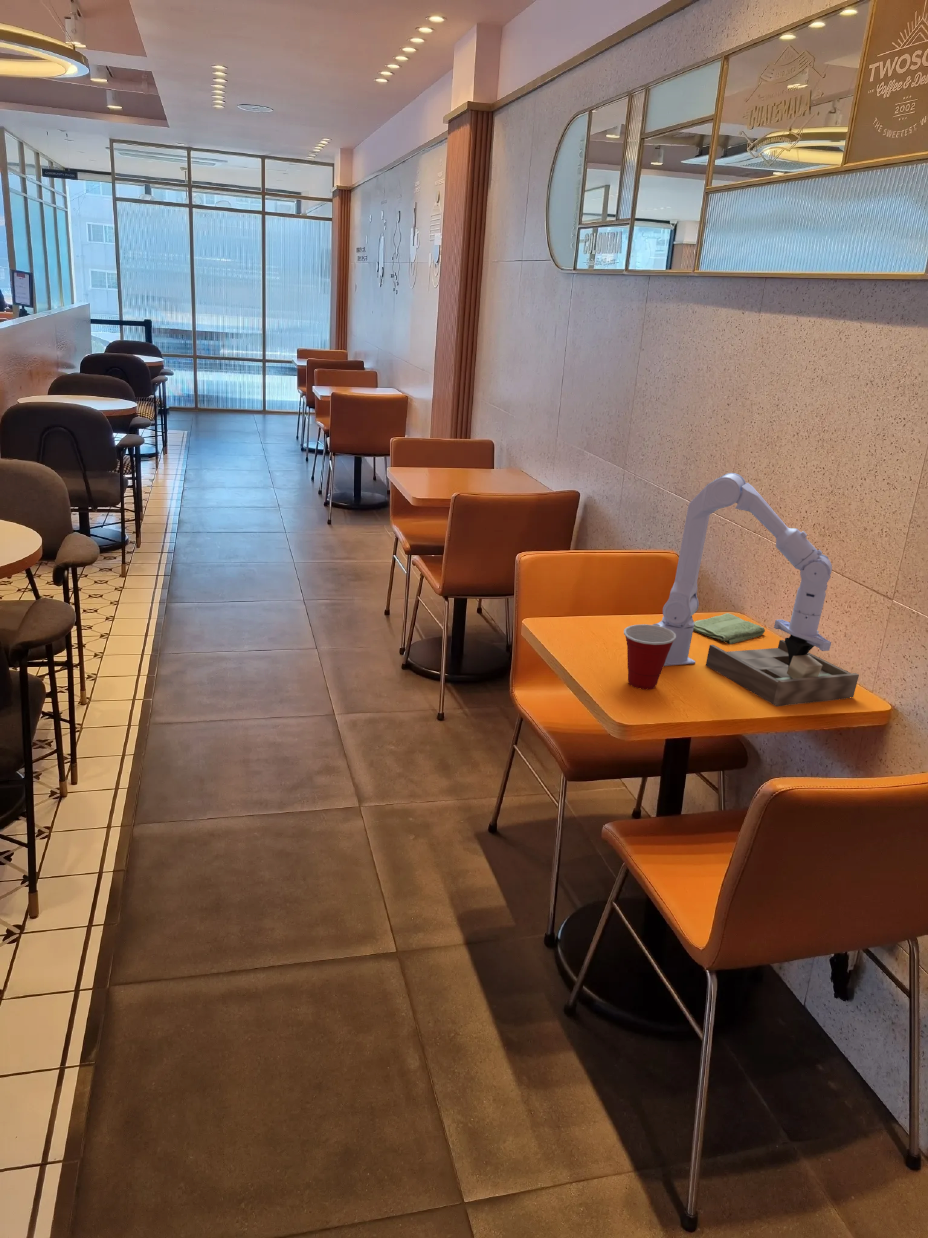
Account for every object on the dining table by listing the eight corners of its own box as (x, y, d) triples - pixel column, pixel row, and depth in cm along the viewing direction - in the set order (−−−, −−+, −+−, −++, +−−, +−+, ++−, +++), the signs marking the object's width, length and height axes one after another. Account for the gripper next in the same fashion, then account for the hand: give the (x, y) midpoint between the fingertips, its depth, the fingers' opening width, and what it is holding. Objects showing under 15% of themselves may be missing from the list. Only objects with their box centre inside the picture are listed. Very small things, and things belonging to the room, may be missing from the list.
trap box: (776, 706, 187) (782, 682, 185) (705, 665, 206) (710, 642, 204) (853, 698, 196) (859, 674, 194) (778, 659, 215) (783, 637, 214)
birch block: (800, 684, 192) (806, 666, 190) (786, 673, 196) (793, 655, 194) (815, 682, 194) (822, 665, 192) (802, 672, 198) (808, 654, 196)
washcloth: (684, 630, 231) (686, 618, 230) (726, 622, 242) (728, 610, 241) (726, 647, 222) (729, 635, 221) (767, 637, 232) (770, 626, 231)
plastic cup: (605, 676, 193) (614, 623, 189) (648, 673, 197) (657, 622, 194) (632, 696, 184) (642, 641, 180) (676, 693, 188) (686, 639, 184)
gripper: (846, 621, 188) (832, 681, 192) (796, 600, 200) (783, 656, 205) (822, 623, 185) (807, 684, 189) (772, 601, 197) (759, 658, 202)
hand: (793, 670), depth 197 cm, fingers closed, pressing on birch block
